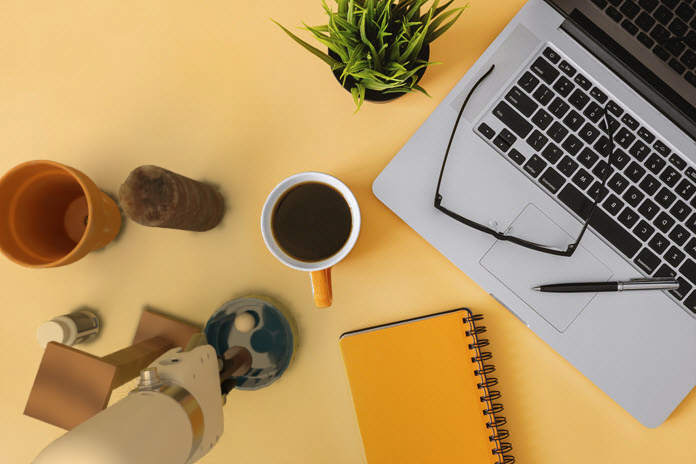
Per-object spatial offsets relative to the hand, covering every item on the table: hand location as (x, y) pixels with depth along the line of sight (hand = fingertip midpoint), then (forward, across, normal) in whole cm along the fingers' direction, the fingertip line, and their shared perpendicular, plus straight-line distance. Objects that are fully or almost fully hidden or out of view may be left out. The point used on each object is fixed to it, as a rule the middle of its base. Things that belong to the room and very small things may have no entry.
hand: (223, 372), depth 59 cm
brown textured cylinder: (+15, -22, -5) cm, 27 cm away
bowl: (+14, -2, +1) cm, 14 cm away
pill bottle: (+14, -6, -26) cm, 30 cm away
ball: (+12, -4, 0) cm, 13 cm away
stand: (+14, -2, -13) cm, 20 cm away
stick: (+7, 0, 0) cm, 7 cm away
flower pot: (+15, -22, -22) cm, 35 cm away
